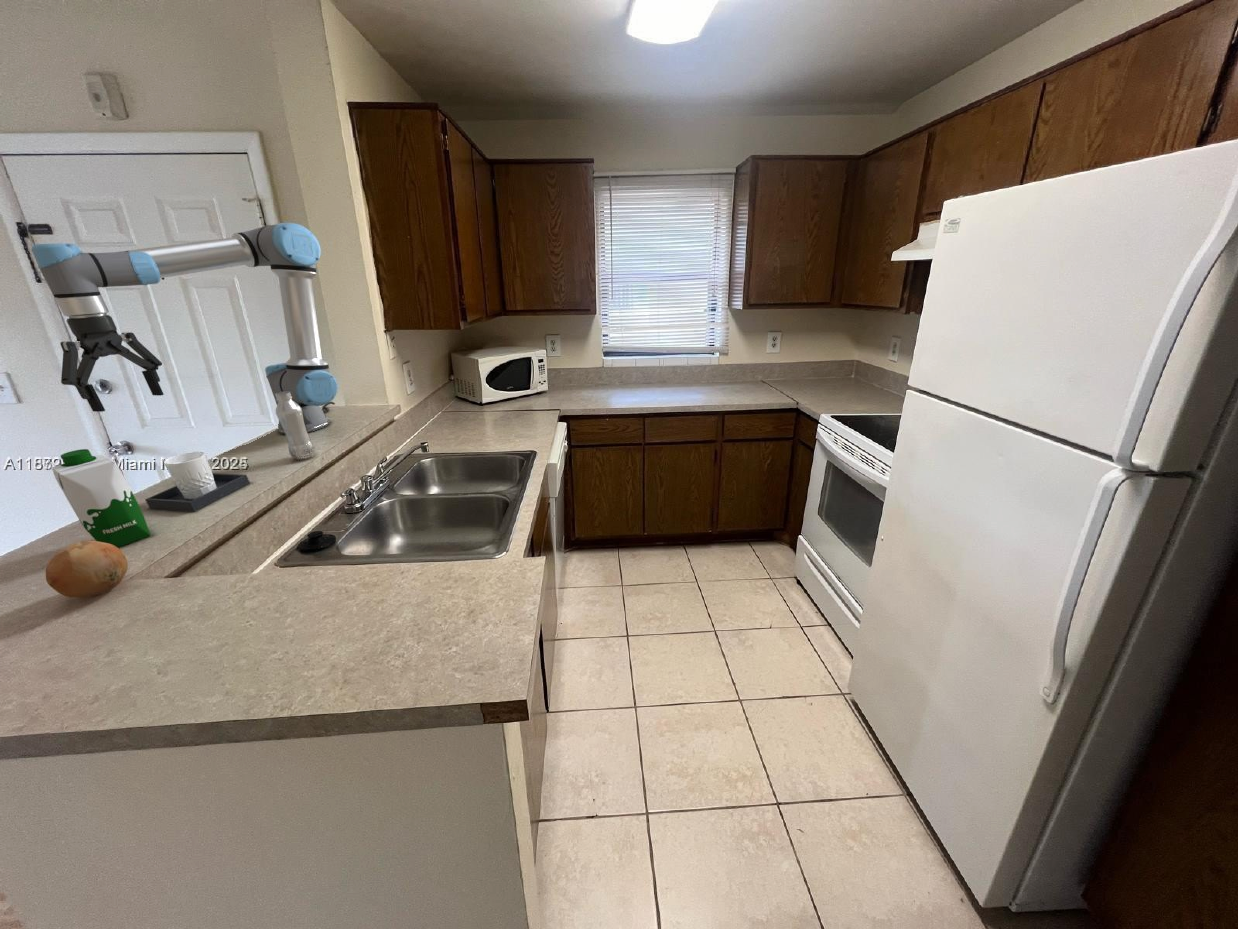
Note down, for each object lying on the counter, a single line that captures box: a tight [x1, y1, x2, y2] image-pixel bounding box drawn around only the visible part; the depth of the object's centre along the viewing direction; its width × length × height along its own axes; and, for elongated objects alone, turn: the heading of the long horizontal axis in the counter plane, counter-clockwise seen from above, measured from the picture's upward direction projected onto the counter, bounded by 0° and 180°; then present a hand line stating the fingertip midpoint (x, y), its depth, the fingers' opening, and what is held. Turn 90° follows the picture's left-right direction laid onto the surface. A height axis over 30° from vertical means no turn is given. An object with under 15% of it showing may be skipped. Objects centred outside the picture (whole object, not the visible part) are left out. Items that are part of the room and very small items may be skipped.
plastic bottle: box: [275, 391, 316, 461], centre depth 137 cm, size 6×7×20 cm
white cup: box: [163, 451, 217, 499], centre depth 118 cm, size 8×8×10 cm
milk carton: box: [51, 448, 152, 549], centre depth 98 cm, size 9×9×20 cm
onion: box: [45, 540, 129, 599], centre depth 84 cm, size 10×10×10 cm
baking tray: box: [144, 472, 251, 513], centre depth 120 cm, size 15×13×3 cm
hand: (130, 402), depth 120 cm, fingers open, 13 cm apart
